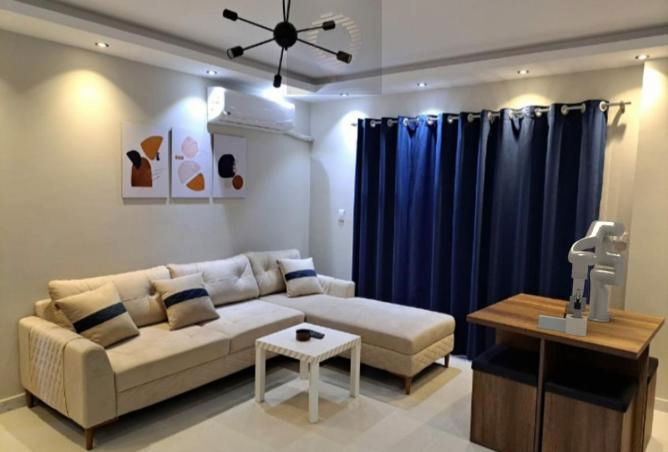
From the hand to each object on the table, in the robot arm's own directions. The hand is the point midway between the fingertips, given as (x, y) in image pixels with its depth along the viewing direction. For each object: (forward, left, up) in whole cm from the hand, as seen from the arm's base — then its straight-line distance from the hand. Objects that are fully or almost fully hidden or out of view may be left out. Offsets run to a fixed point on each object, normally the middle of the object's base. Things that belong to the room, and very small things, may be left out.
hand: (577, 308), depth 262 cm
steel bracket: (0, 0, -5) cm, 5 cm away
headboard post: (+6, -4, -14) cm, 16 cm away
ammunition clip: (-8, -18, -14) cm, 24 cm away
